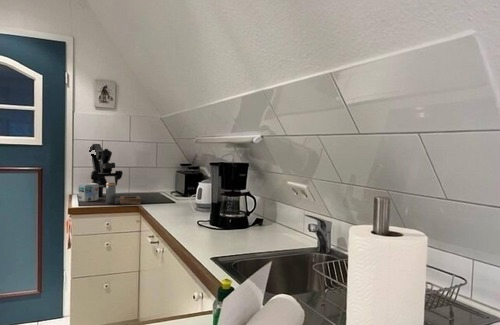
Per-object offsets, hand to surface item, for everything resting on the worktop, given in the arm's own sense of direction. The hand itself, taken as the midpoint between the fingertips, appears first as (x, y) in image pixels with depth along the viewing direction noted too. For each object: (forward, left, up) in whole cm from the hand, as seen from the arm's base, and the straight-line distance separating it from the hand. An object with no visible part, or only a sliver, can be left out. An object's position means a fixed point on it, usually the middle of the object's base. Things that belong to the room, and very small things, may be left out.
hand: (109, 185), depth 242 cm
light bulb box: (-12, -12, -11) cm, 20 cm away
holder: (0, +13, -11) cm, 17 cm away
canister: (+4, +1, -11) cm, 12 cm away
